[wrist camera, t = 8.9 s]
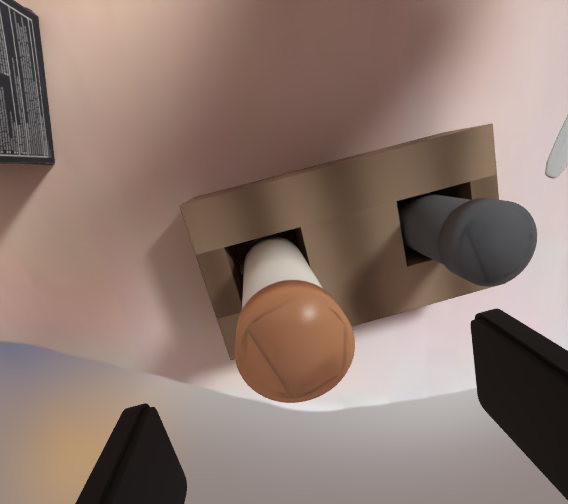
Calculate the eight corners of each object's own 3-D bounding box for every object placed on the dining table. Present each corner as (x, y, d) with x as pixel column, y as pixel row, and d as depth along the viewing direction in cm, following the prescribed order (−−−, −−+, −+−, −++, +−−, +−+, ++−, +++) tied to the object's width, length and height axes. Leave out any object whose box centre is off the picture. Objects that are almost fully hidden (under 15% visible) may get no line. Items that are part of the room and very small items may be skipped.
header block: (443, 132, 29) (492, 123, 23) (459, 262, 32) (505, 283, 26) (193, 197, 28) (179, 205, 22) (234, 324, 31) (230, 360, 26)
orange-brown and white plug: (297, 226, 24) (341, 279, 13) (312, 286, 26) (364, 384, 14) (233, 243, 24) (219, 312, 13) (251, 303, 26) (253, 416, 14)
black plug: (422, 181, 30) (534, 190, 18) (429, 234, 31) (539, 273, 19) (370, 195, 29) (448, 213, 18) (379, 247, 31) (459, 296, 19)
